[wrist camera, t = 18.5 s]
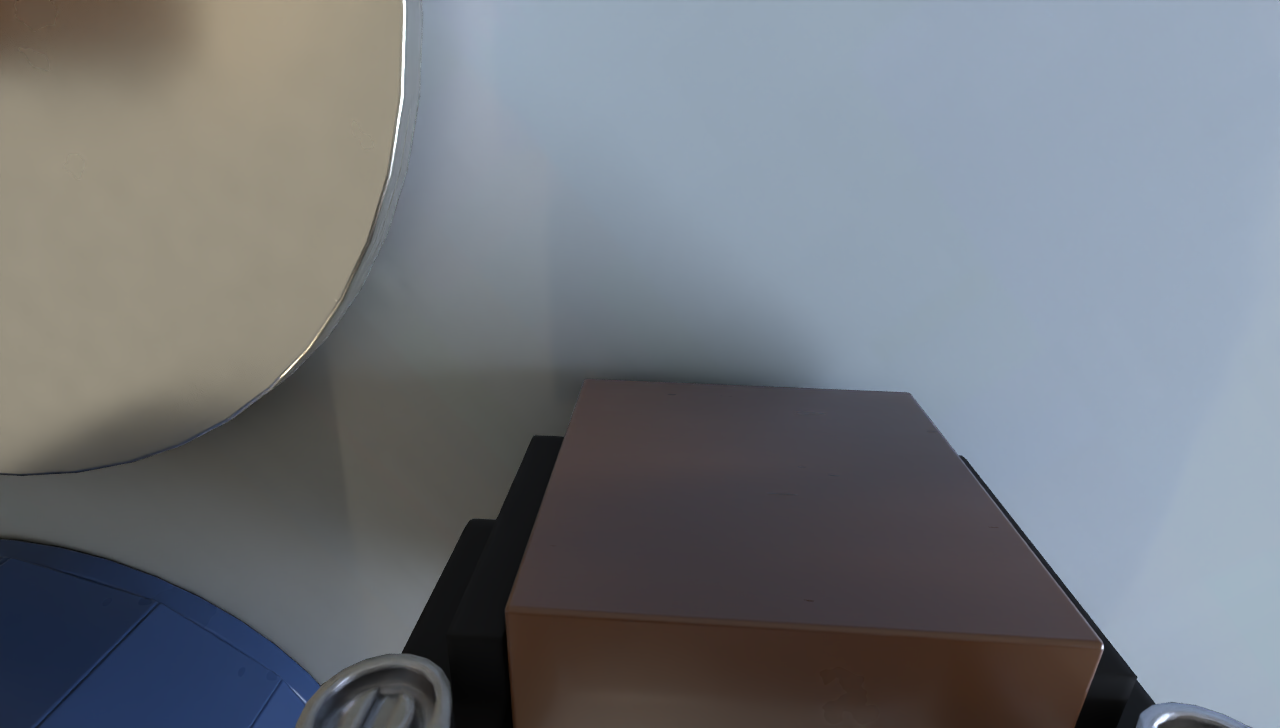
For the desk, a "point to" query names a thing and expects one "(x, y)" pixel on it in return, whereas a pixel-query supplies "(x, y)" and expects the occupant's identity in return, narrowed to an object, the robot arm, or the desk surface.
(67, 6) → the lid
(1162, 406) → the desk surface
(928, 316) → the desk surface
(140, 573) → the blue bowl
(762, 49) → the desk surface
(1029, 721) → the block
